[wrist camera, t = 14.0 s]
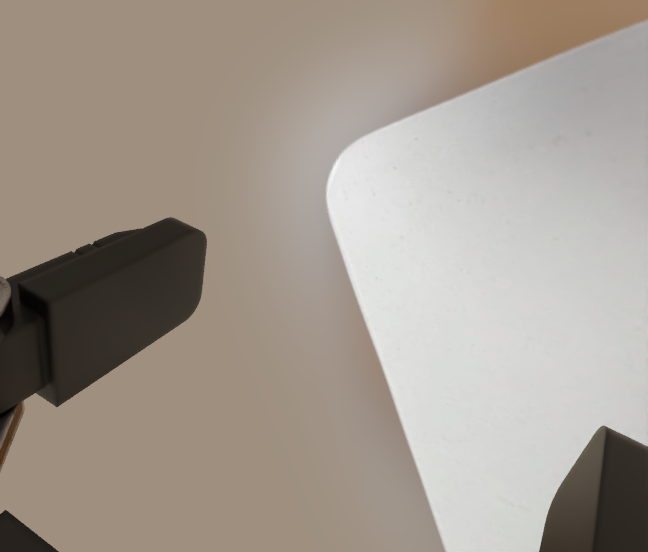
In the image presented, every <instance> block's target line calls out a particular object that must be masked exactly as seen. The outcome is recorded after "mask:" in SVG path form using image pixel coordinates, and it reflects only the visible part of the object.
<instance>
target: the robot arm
mask: <svg viewBox="0 0 648 552" xmlns="http://www.w3.org/2000/svg"><path fill="white" fill-rule="evenodd" d="M206 246H207V240H206V236H205V234H204V233H203V232H202V231H200V230H198V229H196V228H194V227H192V226H190V225H188V224H185V223H183V222H181V221H179V220H177V219H175V218H166V219H164V220H161V221H159V222H157V223H154V224H152V225H150V226H147V227H145V228H143V229H136V230H129V231H123V232H117V233H114V234H111V235H109V236H107V237H104V238H102V239H99V240H97V241H95V242H94V243H93V245H91V244H88V245H85V246H83V247H80V248H78V249H76V251H75V252H74V253H73V252H72V251H71V252H69V253H66V254H64V255H62V256H59V257H57V258H54V259H52V260H50V261H47V262H45V263H43V264H40V265H38V266H35V267H33V268H31V269H28V270H26V271H24V272H21V273H19V274H17V275H14V276H12V277H9V278H7V279H4V278H3V277H0V471H1V469H2V466H3V464H4V461H5V459H6V456H7V454H8V451H9V448H10V446H11V444H12V441H13V439H14V436H15V433H16V431H17V429H18V426H19V423H20V421H21V418H22V416H23V413H24V400H25V399H26V398H28V397H29V396H31V395H33V394H34V393H37V394H38V395H40V396H41V397H43V398H44V399H46V400H47V401H49V402H50V403H52V404H53V405H55V406H56V407H58V406H59V405H61V404H62V403H64V402H65V401H67V400H68V399H70V398H71V397H73V396H74V395H76V394H77V393H79V392H80V391H82V390H83V389H85V388H86V387H88V386H89V385H90V384H92V383H94V382H95V381H97V380H98V379H99V378H101V377H103V376H104V375H106V374H107V373H109V372H110V371H111V370H113V369H114V368H116V367H117V366H119V365H120V364H122V363H123V362H125V361H126V360H128V359H129V358H131V357H132V356H134V355H135V354H137V353H138V352H140V351H141V350H143V349H144V348H146V347H147V346H148V345H150V344H152V343H153V342H154V341H156V340H157V339H159V338H160V337H162V336H163V335H165V334H166V333H168V332H170V331H171V330H172V329H174V328H175V327H177V326H178V325H180V324H181V323H183V322H184V321H186V320H187V319H188V318H189V317H190V316H191V315H192V314H193V312H194V311H195V309H196V308H197V306H198V304H199V301H200V298H201V293H202V285H203V275H204V274H203V273H204V265H205V256H206ZM0 552H58V551H57V550H56V549H55V548H53V547H52V546H51V545H50V544H48V543H47V542H45V541H44V540H43V539H42V538H41V537H39V536H38V535H37V534H35V533H34V532H33V531H32V530H30V529H29V528H28V527H27V526H25V525H24V524H23V523H21V522H20V521H19V520H18V519H17V518H15V517H14V516H13V515H12V514H10V513H9V512H8V511H6V510H5V511H4V512H3V513H1V514H0ZM539 552H648V447H647V446H645V445H643V444H641V443H639V442H637V441H635V440H633V439H631V438H629V437H627V436H625V435H622V434H620V433H618V432H616V431H614V430H612V429H610V428H608V427H606V426H602V427H600V428H599V429H598V430H597V431H596V433H595V434H594V436H593V437H592V439H591V440H590V442H589V443H588V445H587V446H586V448H585V449H584V451H583V452H582V454H581V455H580V457H579V458H578V460H577V461H576V463H575V464H574V466H573V467H572V469H571V470H570V472H569V473H568V475H567V476H566V478H565V479H564V481H563V482H562V484H561V485H560V487H559V489H558V491H557V492H556V494H555V497H554V499H553V501H552V503H551V506H550V509H549V511H548V515H547V518H546V522H545V527H544V532H543V536H542V541H541V546H540V551H539Z"/></svg>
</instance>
